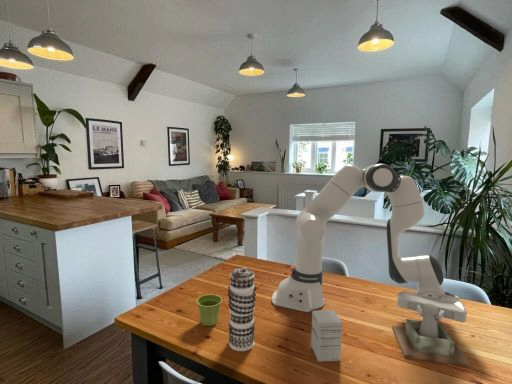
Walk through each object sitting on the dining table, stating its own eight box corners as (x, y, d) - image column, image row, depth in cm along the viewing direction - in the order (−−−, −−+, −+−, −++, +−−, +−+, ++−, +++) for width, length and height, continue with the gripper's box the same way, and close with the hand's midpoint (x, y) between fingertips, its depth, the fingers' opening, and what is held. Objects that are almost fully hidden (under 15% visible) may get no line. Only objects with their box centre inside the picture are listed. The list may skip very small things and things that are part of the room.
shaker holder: (404, 357, 89) (405, 340, 89) (392, 328, 105) (393, 313, 104) (470, 367, 85) (472, 349, 85) (447, 335, 101) (448, 320, 100)
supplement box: (310, 346, 94) (311, 309, 92) (332, 345, 94) (334, 309, 93) (317, 362, 87) (318, 322, 85) (341, 361, 87) (342, 321, 86)
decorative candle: (237, 331, 102) (238, 263, 99) (260, 339, 97) (261, 268, 94) (222, 345, 94) (221, 271, 91) (246, 355, 89) (246, 278, 86)
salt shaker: (440, 350, 91) (443, 311, 90) (420, 346, 93) (422, 308, 92) (435, 339, 97) (438, 302, 95) (416, 336, 98) (418, 299, 97)
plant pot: (212, 312, 114) (212, 291, 113) (227, 322, 107) (227, 300, 106) (191, 321, 107) (191, 299, 107) (206, 332, 101) (206, 309, 100)
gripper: (398, 284, 110) (395, 299, 98) (464, 297, 99) (469, 315, 88) (397, 299, 111) (394, 316, 99) (462, 314, 100) (467, 335, 88)
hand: (430, 316), depth 93 cm, fingers closed on salt shaker, 3 cm apart
